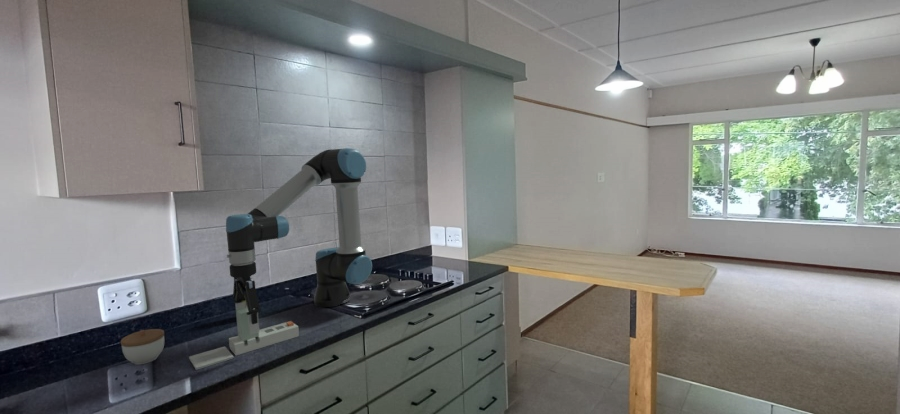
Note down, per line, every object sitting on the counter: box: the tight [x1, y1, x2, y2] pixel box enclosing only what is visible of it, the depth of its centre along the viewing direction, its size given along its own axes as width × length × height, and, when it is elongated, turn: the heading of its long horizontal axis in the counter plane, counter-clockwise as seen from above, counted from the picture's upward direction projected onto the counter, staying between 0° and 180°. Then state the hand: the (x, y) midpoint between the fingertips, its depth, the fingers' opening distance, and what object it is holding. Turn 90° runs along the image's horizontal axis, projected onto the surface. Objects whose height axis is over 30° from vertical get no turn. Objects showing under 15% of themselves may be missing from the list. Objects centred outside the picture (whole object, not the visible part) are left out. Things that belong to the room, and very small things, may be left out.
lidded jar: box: [120, 328, 165, 365], centre depth 125 cm, size 11×11×9 cm
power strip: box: [228, 320, 300, 356], centre depth 136 cm, size 20×7×4 cm, turn 132°
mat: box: [188, 345, 234, 371], centre depth 125 cm, size 10×10×1 cm
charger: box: [235, 308, 259, 344], centre depth 132 cm, size 5×4×10 cm
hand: (247, 327), depth 132 cm, fingers open, 13 cm apart
